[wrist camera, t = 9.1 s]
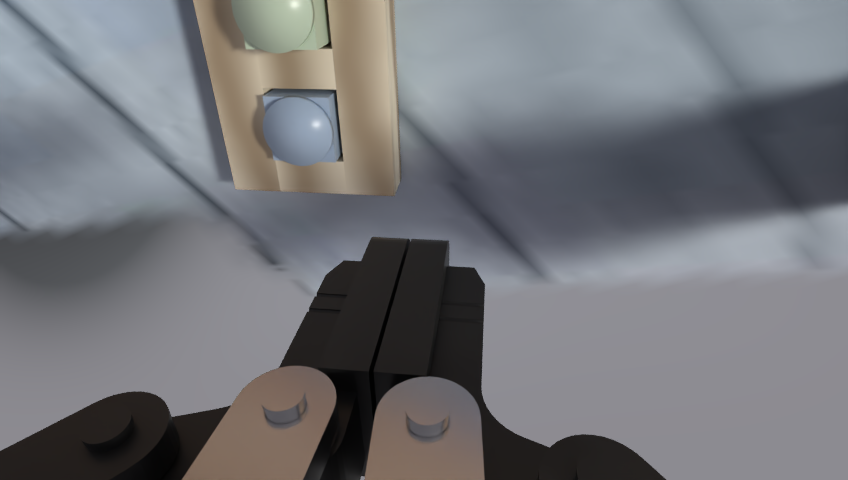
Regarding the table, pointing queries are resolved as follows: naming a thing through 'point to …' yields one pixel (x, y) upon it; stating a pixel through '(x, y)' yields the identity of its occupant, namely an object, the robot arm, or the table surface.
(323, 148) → the slate button
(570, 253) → the table surface
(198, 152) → the table surface
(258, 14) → the sage button
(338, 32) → the button panel
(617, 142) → the table surface
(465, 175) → the table surface
